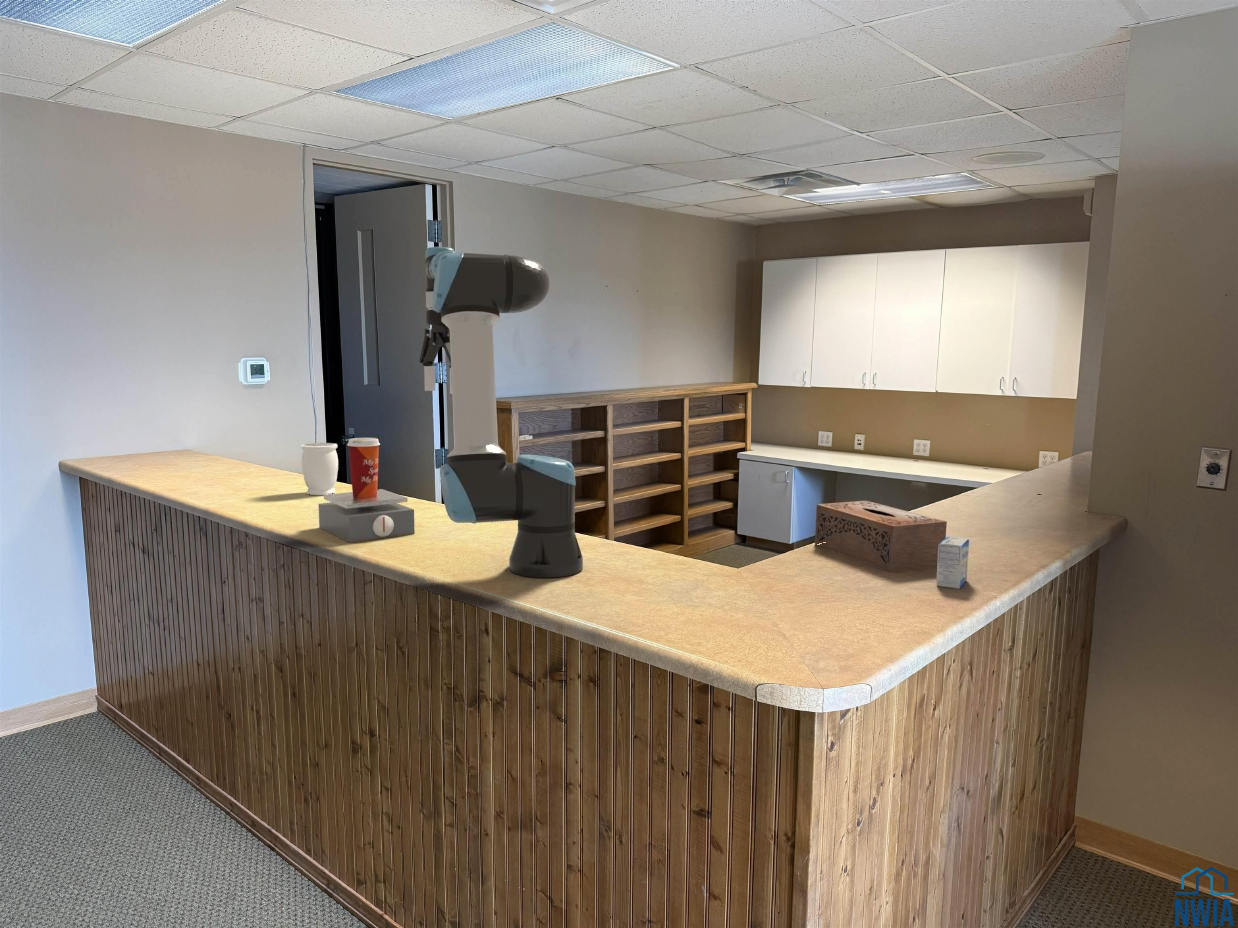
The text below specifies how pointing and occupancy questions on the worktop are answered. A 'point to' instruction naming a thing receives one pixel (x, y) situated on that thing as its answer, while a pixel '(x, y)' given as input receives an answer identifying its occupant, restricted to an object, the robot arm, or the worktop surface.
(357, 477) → the paper cup
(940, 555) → the medicine box
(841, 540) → the tissue box cover
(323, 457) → the jar
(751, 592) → the worktop surface
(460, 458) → the robot arm
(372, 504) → the scale pan
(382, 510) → the scale base
